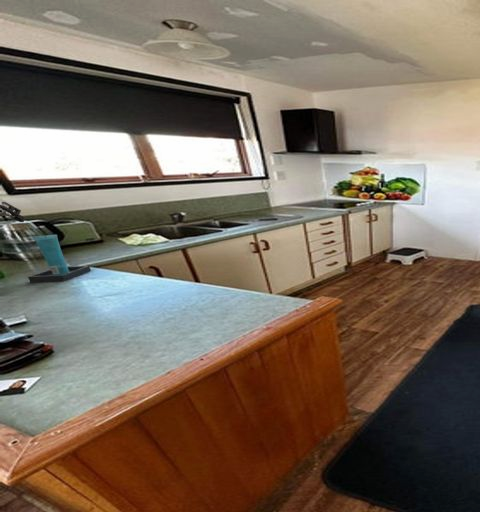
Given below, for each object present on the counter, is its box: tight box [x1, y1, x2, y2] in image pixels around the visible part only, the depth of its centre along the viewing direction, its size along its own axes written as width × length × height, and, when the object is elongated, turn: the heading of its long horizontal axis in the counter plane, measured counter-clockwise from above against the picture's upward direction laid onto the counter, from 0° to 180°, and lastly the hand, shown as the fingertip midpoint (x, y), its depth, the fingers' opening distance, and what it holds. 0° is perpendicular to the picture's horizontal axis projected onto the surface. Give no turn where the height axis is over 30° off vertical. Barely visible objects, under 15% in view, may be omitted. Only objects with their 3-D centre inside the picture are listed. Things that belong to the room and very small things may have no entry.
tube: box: [32, 234, 69, 275], centre depth 125 cm, size 7×5×19 cm, turn 123°
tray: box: [27, 265, 92, 283], centre depth 128 cm, size 15×13×3 cm
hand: (9, 221), depth 109 cm, fingers open, 8 cm apart
